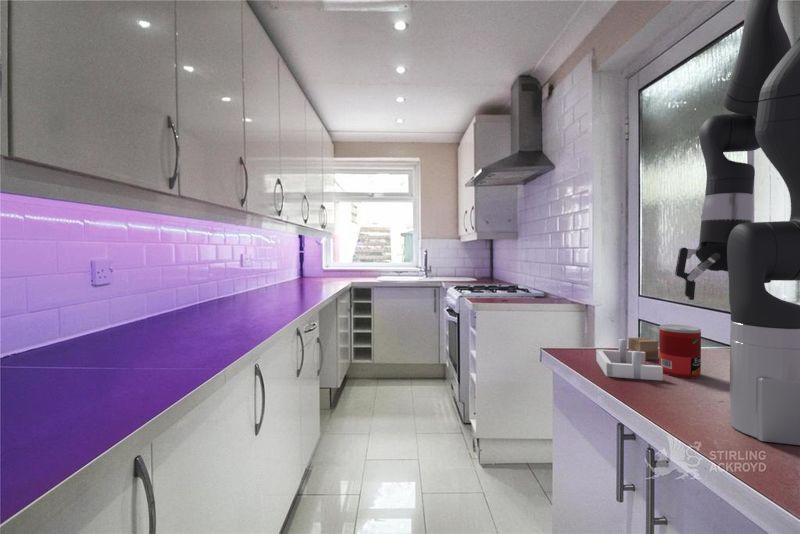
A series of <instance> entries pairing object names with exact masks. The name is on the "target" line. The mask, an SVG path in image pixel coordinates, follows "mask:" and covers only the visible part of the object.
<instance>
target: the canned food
mask: <svg viewBox="0 0 800 534" xmlns="http://www.w3.org/2000/svg"><path fill="white" fill-rule="evenodd" d="M658 331H659V332H658V337H659V339H658V340H659V341H658V360H659V363H658V366H662V367H663V374H665V375H667V374H668V375H669V376H672V377H677V378H682V377H683V378H684V379H696V377H697V378H698V377H700V375H701V370H702V367H701V365H702V361H701V360H702V359H701V358H702V331H701V328H700V327H696V326H692V325H685V324H674V323H673V324H670V323H669V324H667V323H666V324H660V325H659V330H658ZM668 375H667V376H668ZM683 378H682V379H683Z"/></svg>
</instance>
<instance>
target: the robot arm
mask: <svg viewBox="0 0 800 534" xmlns="http://www.w3.org/2000/svg"><path fill="white" fill-rule="evenodd" d="M746 5H747V6H746V11H745V16H744V23H743V27H742V28H743V29H742V34H741V40H740V45H739V49H738V54H737V58H736V59H735V64H734V66H733V69H732V72H731V75H730V79H729V81H728V84H727V86H726V90H725V92H724V95H723V100H722V101H723V102H722V103H723V106H724V108H725V109H726V110H727V111H729V112H731V113H727V114H726V113H725V114H717V115H712V116H710V117H709V118H707V119H706V120H705V121H704V122H703V124H702V125H701V127H700V130H699V133H698V134H699V135H698V140H699V144H700V149H701V152H702V155H703V159H704V163H705V169H706V183H705V184H706V185H705V191H704V192H705V195H704V201H703V203H702V204H703V205H702V207H701V208H702V209H701V215H700V220H701V222H700V230H699V231H700V232H699V241H698V246H697V247H696V249H695V248H687V247H680V248H679V249H678V255H677V261H676V266H675V272H674V274H675V277H678V278H681V279H684V281H685V283H684V296H685V297H687V299H688V300H690V301H694V300H695V294H696V293H695V291H696V282H697V281H695V280H696V279H697V278H698V277H699V276H701V275H702V274H703V273H705V271H706V270H709V271H713V272H719V271H723V272H726V273H727V275H728V300H729V308H730V330H729V331H730V333H729V335H730V341H729V342H730V343H729V345H730V346H729V349H730V351H729V352H730V353H729V424H730V426H731V427H733V429H735V430H737V431H739V432H740V433H743V434H745V435H748V436H751V437H753V438H756V439H757V440H759V441H761V442H766V443H767V442H768V443H776V444H785V445H793V446H794V445H795V446H800V304H797V303H793V302H790V301H787V300H784V299H780V298H779V297H776V296H775V295H773V294H771V293H770V292H768V291H767V288H766V285H765V284H769V283H771V282H772V281H788V282H789V281H791V282H792V281H795V282H796V281H800V36H799V37H798V39H797V40H796V41H795V42H794V44H793V45H792V43H791V40H790V38H789V35H788V33H787V30H786V29H785V27H784V24H783V21H782V19H781V16H780V12H779V0H747V4H746ZM758 149H761V151H762V152H763V153H764V155H765V157H766V158H767V159H768V160H769V162H770V163H771V165H772V166H773V167H774V168H775V170H776V171H777V172H778V173H779V175H780V176H781V178H782V179H783V182H784V183H785V186H786V188H787V191H788V193H789V199H790V216H789V220H787V221H786V220H783V221H758V222H757V221H755V222H753V213H754V200H753V199H754V197H753V195H754V184H755V175H756V171H755V167H754V165H752V164H750V163H746V162H741V161H734V160H730V159H728V157H727V156H726V155H725V154H724V153H736V152H738V153H739V152H752V151H756V150H758ZM693 255H695V257H696V258H697V259H698V260H699V261H700V262H699V263H698V264H697V265H695V267H694V268H693V269H692V270H691V271H690V272H688V273H687V272H685V271H686V264H687V260H690V259H691V258H692V256H693Z"/></svg>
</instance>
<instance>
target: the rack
mask: <svg viewBox="0 0 800 534" xmlns="http://www.w3.org/2000/svg"><path fill="white" fill-rule="evenodd" d="M627 342H628V339H625V338H618V350H616V349H599V348H596V349H595V360H596V362H597V365H599V367H600V369H601V370H602V371H603V373H604V375H605V377H610V378H620V379H621V378H622V379H623V378H625V379H633V380H634V379H635V380H649V381H661V382H662V381H663V380H664V379H663V377H664V375H663V374H664V373H663V367H662V366H659V365H655V364H654V365H651V364H646V360H645V352H639V351H628V349H627V348H628V345H627V344H628V343H627Z"/></svg>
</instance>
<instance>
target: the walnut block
mask: <svg viewBox="0 0 800 534" xmlns="http://www.w3.org/2000/svg"><path fill="white" fill-rule="evenodd" d="M627 342H628V343H627V344H628V345H627V348H628V349H627V351H639V352H645V361H646V360H647V361H648V359H655V360H659V341H658V340H656V339H653V338H650V337H647V336H642V337H640V336H639V337H638V336H637V337H628V339H627Z"/></svg>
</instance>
